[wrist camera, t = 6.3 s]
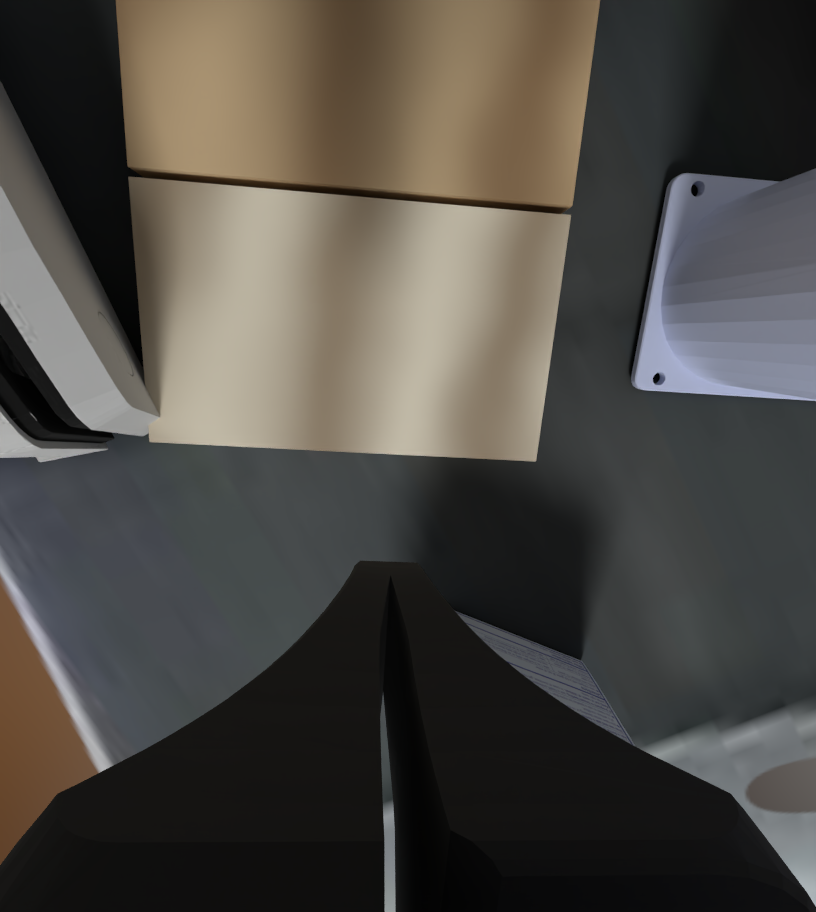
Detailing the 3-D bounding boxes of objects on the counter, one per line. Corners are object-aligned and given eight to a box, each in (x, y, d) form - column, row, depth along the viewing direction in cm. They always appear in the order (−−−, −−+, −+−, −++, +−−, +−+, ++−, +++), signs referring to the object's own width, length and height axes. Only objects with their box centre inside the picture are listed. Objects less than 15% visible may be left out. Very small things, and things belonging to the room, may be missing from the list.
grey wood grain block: (404, 672, 23) (415, 870, 14) (445, 599, 22) (483, 766, 13) (540, 723, 24) (624, 933, 16) (584, 656, 23) (699, 841, 15)
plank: (588, -38, 16) (611, -79, 14) (555, 217, 18) (572, 205, 16) (134, -94, 15) (105, -146, 13) (151, 182, 17) (127, 166, 15)
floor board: (554, 225, 18) (570, 215, 16) (524, 451, 20) (536, 461, 18) (151, 190, 17) (128, 176, 15) (168, 433, 19) (149, 442, 17)
